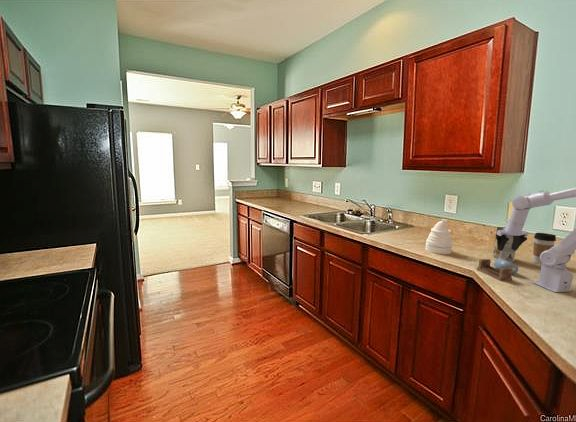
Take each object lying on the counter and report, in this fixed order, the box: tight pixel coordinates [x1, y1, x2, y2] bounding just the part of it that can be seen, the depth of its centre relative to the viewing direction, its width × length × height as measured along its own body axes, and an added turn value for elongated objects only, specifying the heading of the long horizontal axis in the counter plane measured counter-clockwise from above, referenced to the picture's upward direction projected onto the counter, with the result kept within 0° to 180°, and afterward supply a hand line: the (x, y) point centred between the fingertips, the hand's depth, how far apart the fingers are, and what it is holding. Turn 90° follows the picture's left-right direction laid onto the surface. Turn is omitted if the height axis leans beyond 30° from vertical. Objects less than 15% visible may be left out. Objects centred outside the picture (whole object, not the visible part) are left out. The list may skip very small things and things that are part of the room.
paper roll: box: [493, 258, 519, 276], centre depth 139 cm, size 8×5×5 cm, turn 10°
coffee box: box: [492, 226, 516, 263], centre depth 155 cm, size 9×6×16 cm
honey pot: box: [425, 218, 453, 255], centre depth 167 cm, size 13×13×18 cm
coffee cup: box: [532, 232, 557, 265], centre depth 151 cm, size 8×8×15 cm
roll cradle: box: [476, 258, 513, 282], centre depth 134 cm, size 6×13×5 cm, turn 10°
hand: (506, 249), depth 138 cm, fingers open, 7 cm apart
